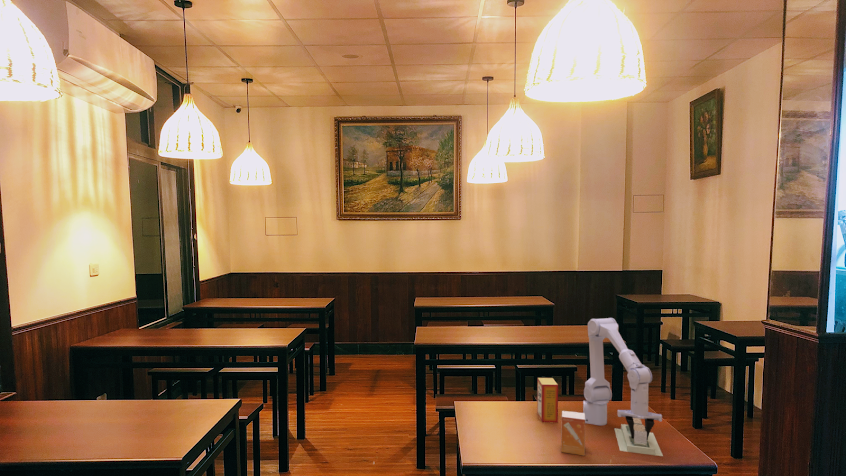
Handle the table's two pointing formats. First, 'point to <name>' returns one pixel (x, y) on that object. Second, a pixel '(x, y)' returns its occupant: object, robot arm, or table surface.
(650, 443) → the cream stepped base
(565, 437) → the small box
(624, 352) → the robot arm
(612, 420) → the table surface
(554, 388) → the baking soda box
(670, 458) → the table surface
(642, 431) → the block
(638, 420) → the block
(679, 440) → the table surface
